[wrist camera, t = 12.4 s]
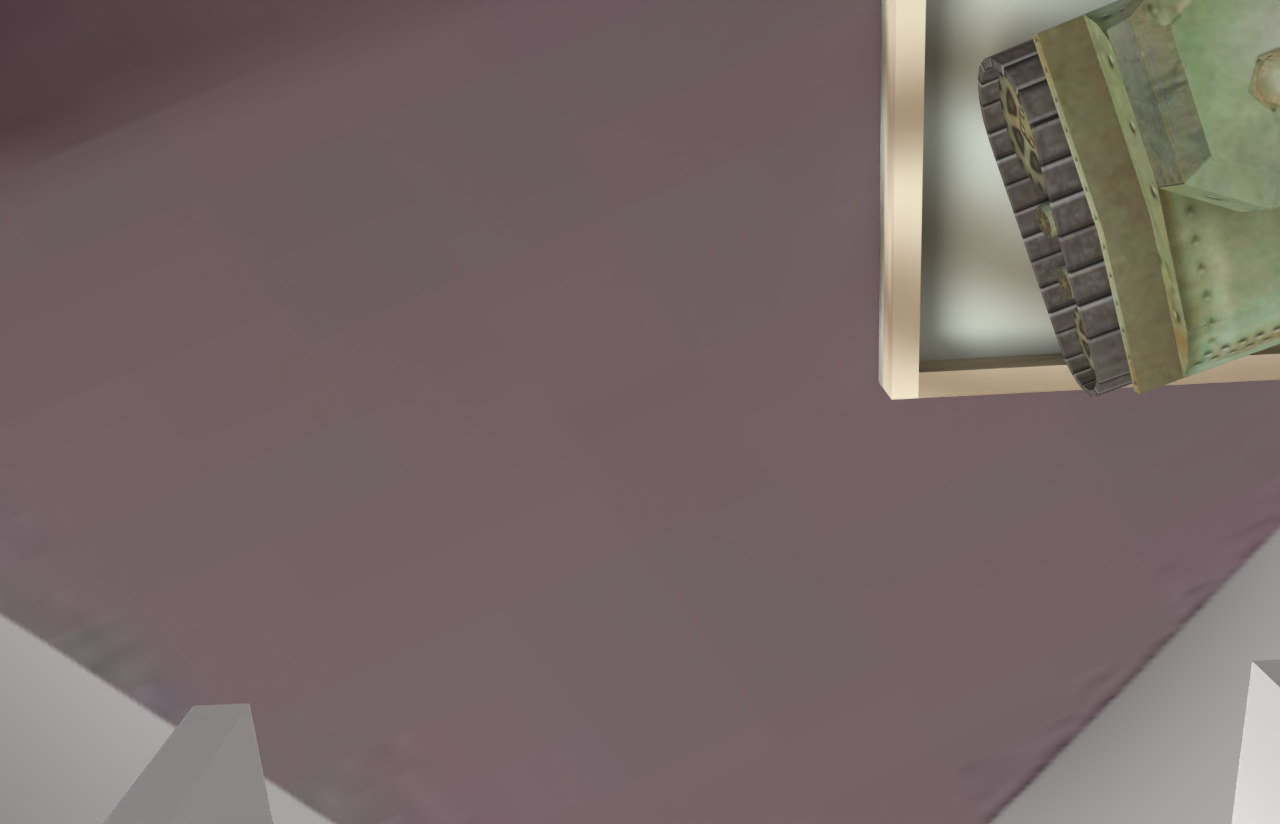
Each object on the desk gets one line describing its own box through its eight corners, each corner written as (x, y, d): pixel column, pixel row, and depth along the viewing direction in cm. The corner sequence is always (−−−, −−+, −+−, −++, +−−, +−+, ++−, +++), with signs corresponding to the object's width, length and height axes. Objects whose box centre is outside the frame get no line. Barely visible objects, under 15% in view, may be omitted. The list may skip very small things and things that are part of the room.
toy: (1189, -211, 36) (1368, -388, 26) (1344, 292, 38) (1564, 307, 28) (909, -91, 37) (978, -216, 27) (1074, 389, 39) (1193, 436, 29)
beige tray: (883, -240, 35) (899, -264, 33) (1394, -278, 35) (1448, -305, 32) (878, 381, 42) (891, 399, 39) (1309, 359, 41) (1349, 375, 39)
